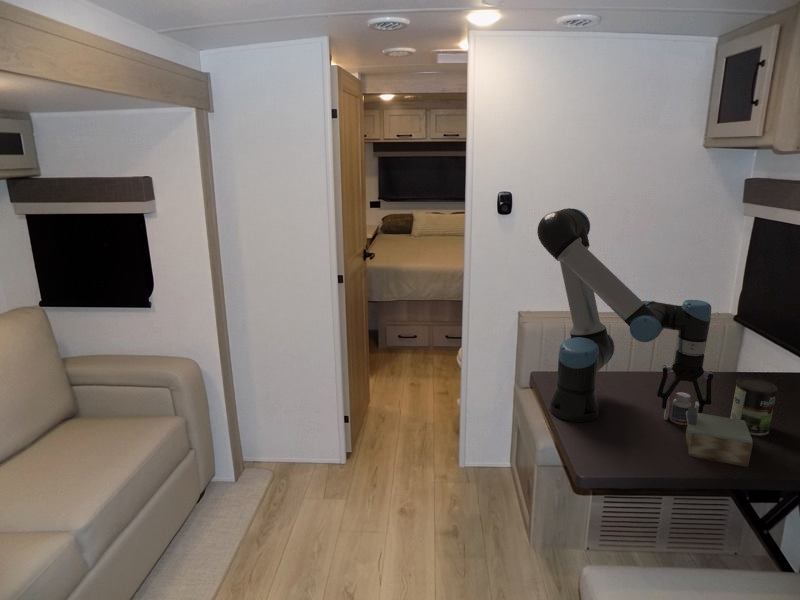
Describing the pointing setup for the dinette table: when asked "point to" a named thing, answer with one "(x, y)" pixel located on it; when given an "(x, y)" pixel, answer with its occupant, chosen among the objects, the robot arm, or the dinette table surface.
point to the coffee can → (754, 404)
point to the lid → (717, 426)
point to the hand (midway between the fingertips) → (679, 420)
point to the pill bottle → (680, 408)
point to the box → (718, 449)
